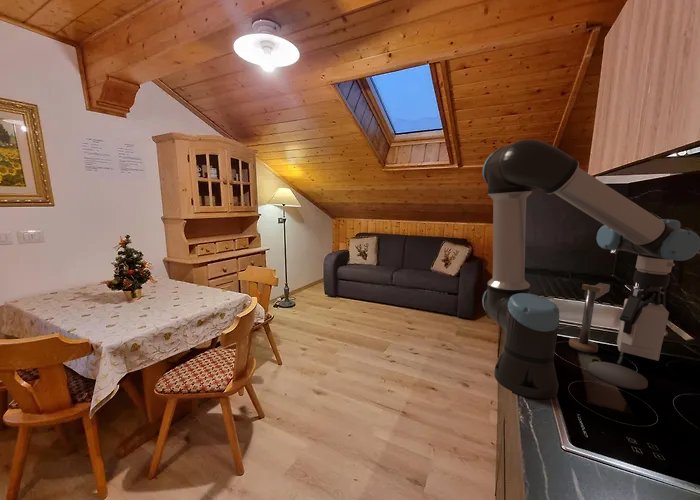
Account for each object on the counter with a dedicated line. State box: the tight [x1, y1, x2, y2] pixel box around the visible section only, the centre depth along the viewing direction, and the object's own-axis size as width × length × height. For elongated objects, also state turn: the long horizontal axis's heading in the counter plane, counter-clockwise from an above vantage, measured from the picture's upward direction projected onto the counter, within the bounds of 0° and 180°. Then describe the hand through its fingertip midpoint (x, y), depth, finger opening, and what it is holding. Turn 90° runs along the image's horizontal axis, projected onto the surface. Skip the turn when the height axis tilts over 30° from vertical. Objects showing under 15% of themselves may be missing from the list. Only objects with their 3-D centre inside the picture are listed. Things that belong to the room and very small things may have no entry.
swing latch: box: [579, 282, 611, 344], centre depth 108 cm, size 17×5×20 cm, turn 128°
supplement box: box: [616, 298, 670, 362], centre depth 93 cm, size 9×9×15 cm
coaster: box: [587, 361, 649, 391], centre depth 88 cm, size 13×13×1 cm
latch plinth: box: [568, 337, 599, 354], centre depth 105 cm, size 8×8×2 cm
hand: (638, 340), depth 94 cm, fingers closed on supplement box, 12 cm apart
